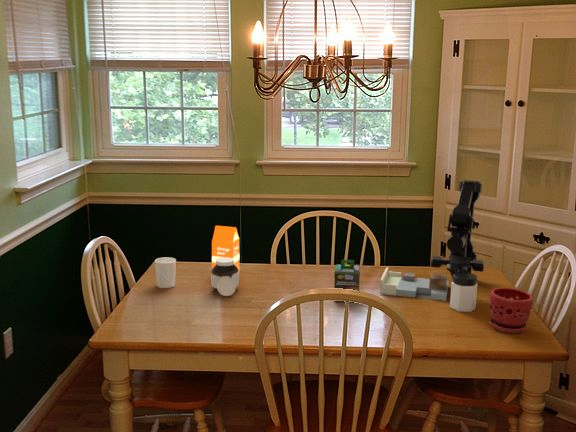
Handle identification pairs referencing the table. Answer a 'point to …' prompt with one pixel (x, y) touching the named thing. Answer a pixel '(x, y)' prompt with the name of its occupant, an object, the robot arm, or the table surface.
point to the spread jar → (225, 276)
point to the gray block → (409, 277)
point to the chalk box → (347, 275)
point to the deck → (409, 287)
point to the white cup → (165, 272)
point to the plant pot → (509, 309)
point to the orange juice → (225, 244)
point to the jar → (463, 292)
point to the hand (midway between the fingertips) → (455, 285)
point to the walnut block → (438, 281)
